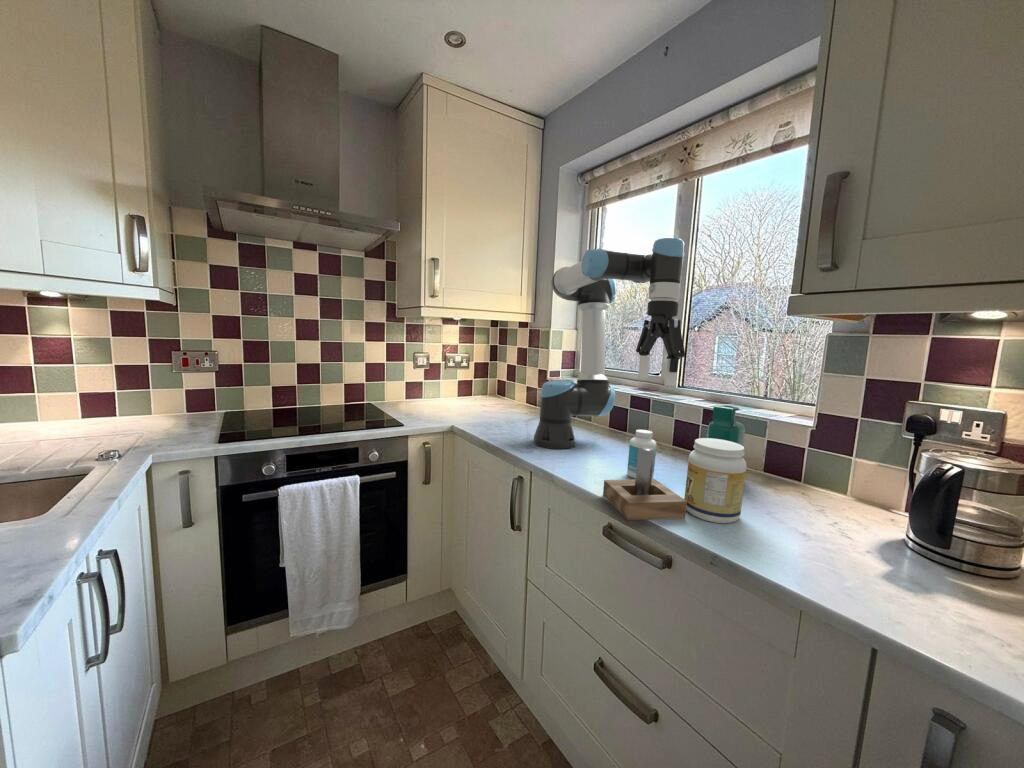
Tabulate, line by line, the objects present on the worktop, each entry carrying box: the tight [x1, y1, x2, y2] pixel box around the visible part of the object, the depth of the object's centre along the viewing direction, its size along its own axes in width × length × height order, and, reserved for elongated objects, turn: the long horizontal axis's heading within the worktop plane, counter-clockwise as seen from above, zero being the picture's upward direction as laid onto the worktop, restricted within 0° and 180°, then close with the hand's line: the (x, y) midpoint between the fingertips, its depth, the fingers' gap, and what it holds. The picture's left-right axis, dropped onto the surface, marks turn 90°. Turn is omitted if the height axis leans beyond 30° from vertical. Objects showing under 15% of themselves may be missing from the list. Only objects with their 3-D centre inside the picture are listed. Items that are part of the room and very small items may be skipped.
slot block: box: [602, 478, 687, 521], centre depth 99 cm, size 14×14×4 cm
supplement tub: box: [683, 437, 748, 524], centre depth 96 cm, size 12×12×17 cm
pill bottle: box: [626, 429, 657, 479], centre depth 120 cm, size 8×7×14 cm
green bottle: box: [706, 405, 746, 447], centre depth 121 cm, size 10×8×22 cm
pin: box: [634, 447, 655, 495], centre depth 99 cm, size 4×4×14 cm
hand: (655, 381), depth 110 cm, fingers open, 13 cm apart
